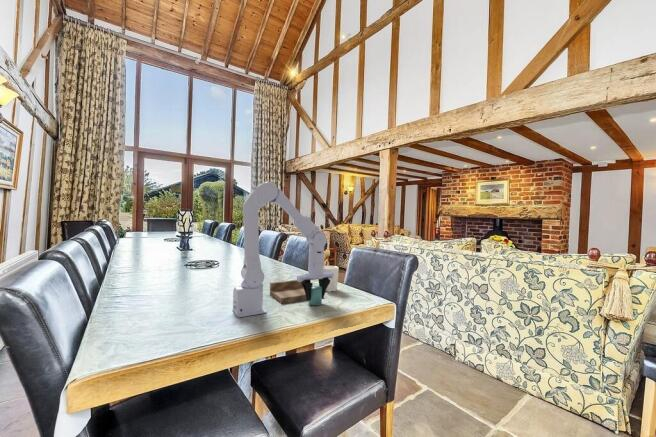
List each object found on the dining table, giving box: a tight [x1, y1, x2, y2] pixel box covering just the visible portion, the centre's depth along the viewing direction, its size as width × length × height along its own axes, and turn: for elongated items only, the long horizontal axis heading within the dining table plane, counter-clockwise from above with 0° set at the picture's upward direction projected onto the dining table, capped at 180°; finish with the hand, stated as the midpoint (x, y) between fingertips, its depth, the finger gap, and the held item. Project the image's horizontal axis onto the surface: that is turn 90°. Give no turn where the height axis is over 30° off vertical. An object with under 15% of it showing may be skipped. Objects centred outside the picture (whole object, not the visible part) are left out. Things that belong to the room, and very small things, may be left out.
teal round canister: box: [307, 285, 323, 306], centre depth 106 cm, size 5×5×6 cm
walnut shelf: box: [269, 279, 312, 304], centre depth 115 cm, size 18×12×5 cm, turn 122°
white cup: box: [323, 265, 340, 293], centre depth 125 cm, size 8×8×10 cm
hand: (315, 298), depth 106 cm, fingers closed on teal round canister, 5 cm apart
